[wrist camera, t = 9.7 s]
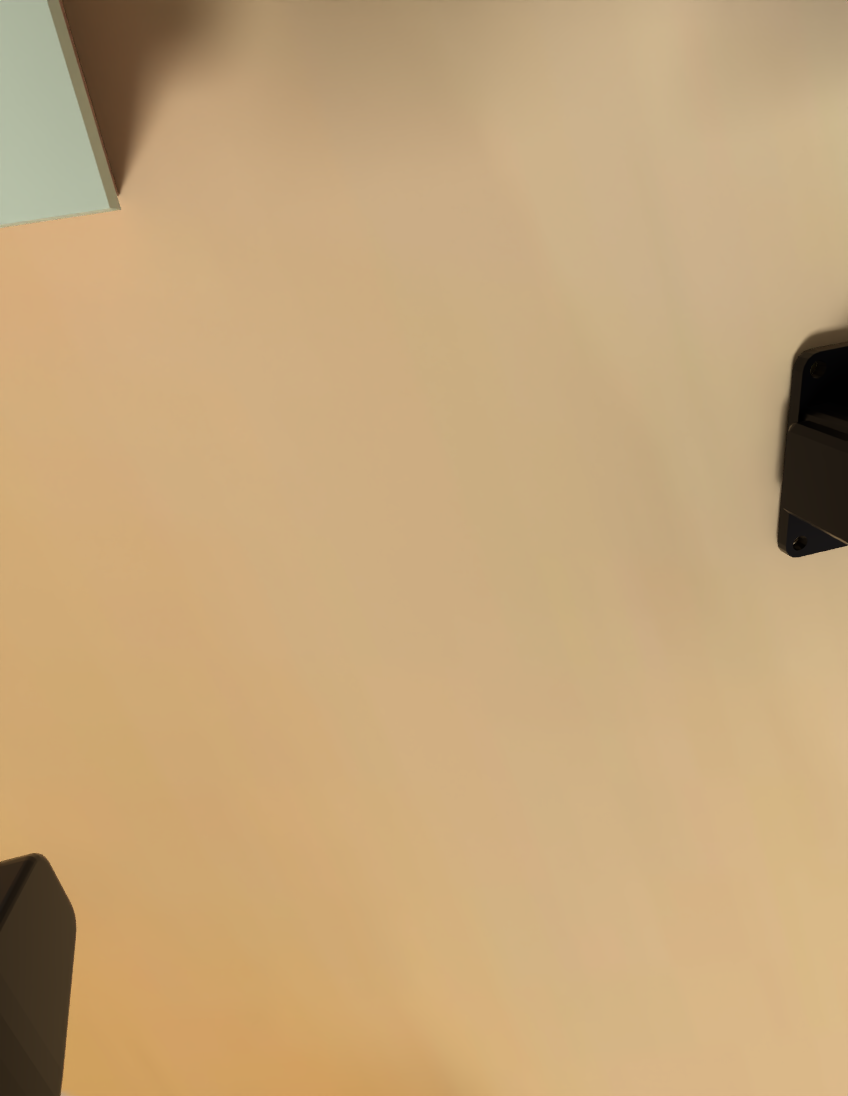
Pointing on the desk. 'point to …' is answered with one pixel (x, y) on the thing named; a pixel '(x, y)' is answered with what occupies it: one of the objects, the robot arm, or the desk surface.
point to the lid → (46, 122)
